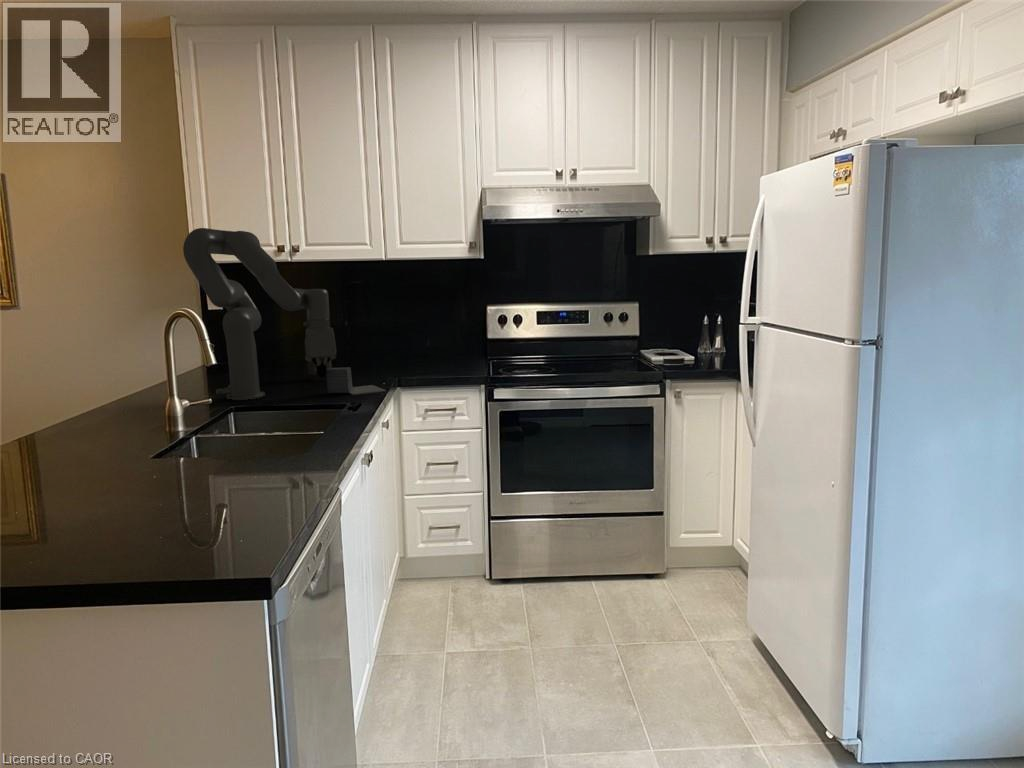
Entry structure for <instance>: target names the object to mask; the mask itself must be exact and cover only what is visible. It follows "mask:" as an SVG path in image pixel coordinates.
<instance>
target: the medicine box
mask: <svg viewBox="0 0 1024 768" xmlns="http://www.w3.org/2000/svg"><path fill="white" fill-rule="evenodd" d="M351 369H352V367H332V368H329V369H327V370H326V377H327V381H326V385H327V386H326V387H327V394H349V392H351V391H352V390H353V387H354V386H353V379H352V370H351Z"/></svg>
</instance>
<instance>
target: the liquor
mask: <svg viewBox="0 0 1024 768" xmlns="http://www.w3.org/2000/svg"><path fill="white" fill-rule="evenodd" d="M310 358H311V357H310ZM319 359H320V364H321V363H322V357H319ZM329 368H333V365H332V360H330V361H329V362H328V363H327V365H326V370H327V369H329ZM306 370H307V373H306V374H307V378H308V381H309V382H312V383H313V382H314V383H316V382H327V377H326V374H325V377H319V376H318V375H317V367H316V365H315V364H314V363H313V362H312V361H306Z"/></svg>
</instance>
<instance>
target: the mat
mask: <svg viewBox="0 0 1024 768" xmlns="http://www.w3.org/2000/svg"><path fill="white" fill-rule="evenodd" d="M352 387H353V390H352V391H351V392H349V393H348V394H349V395H351V396H360V395H369V394H370V395H371V394H377V393H378V394H379V393H385V392H386V393H387V390H386V389H384V388H381V387H380V386H379V387H378V386H376V385H374V384H369V385H361V386H360V385H359V386H352Z"/></svg>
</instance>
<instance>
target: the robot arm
mask: <svg viewBox="0 0 1024 768" xmlns="http://www.w3.org/2000/svg"><path fill="white" fill-rule="evenodd" d="M182 248H183V249H182V250H183V251H182V252H183V256H184V259H185V262H186V263H187V265H188V268H189V269H190V270H191V272H192V273H193V275H194V277H195V278H196V280H197V282H198V283H199V285H200V286H201V288H202V289H203V291H204V293H205V294H206V296H207V298H208V299H209V301H210V302H211V304H212V305H214V306H215V307H217V308H222V309H223V308H225V309H226V310H227V312H225V314H224V316H223V319H222V329H223V333H224V339H225V342H226V343H225V344H226V354H227V362H228V363H227V364H228V374H229V375H228V376H229V384H228V386H225V387H224V388H217V389H216V391H215V392H216V395H226V399H227V400H229V399H232V400H231V401H249V400H248V399H250V400H257V399H261V398H263V396H264V397H265V396H266V393H265V392H264V391H261V389H260V379H259V366H258V365H259V364H258V351H257V344H256V340H255V334H254V332H255V331H257V330H258V329H260V327H261V325H262V316H261V313H260V311H259V309H258V308H257V306H256V304H255V303H254V301H253V299H252V298H251V297H250V295H249V294H248V292H247V290H246V289H245V288H244V286H243V285H242V284H241V283H240V282H238V281H236V280H233V279H228V277H227V276H226V275H225V273H224V272H223V270H222V268H221V267H220V265H219V264H218V263H217V261H216V260H215V259H214V258H213V257H212V255H223V256H225V255H226V256H234V257H235V258H236V259H237V260H238V261H239V262H240V263H241V264H242V265H243V266H244V267H245V268H246V269H247V270H248V271H249V272H250V273H251V274H252V275H253V276H254V277H255V278H256V279H257V281H258V283H259V284H260V285H261V287H262V289H263V290H264V292H265V293H267V294H268V295H269V297H270V298H271V299H272V300H273V301H274V302H275V303H276V304H277V305H278V306H279V307H281V308H282V309H283V310H285V311H288V312H294V311H295V312H297V311H301V310H306V317H307V318H306V321H303V323H302V325H303V327H305V326H306V327H307V328H305V334H304V354H305V356H304V359H305V361H306V362H307V361H312V362H313V363H314V364H315V365H316V367H317V375H318V376H319V377H325V374H326V365H327V363H328V362H329V361H330V360H331V361H333V360H335V359H337V345H336V344H337V343H336V337H335V332H334V328H333V327H331V319H330V304H329V303H330V302H329V292H328V290H327V289H325V288H310V289H307V288H306V289H305V288H297V287H296V288H295V287H294V288H293V287H292V286H291V285H290V284H289V283H288V282H287V281H286V280H285V279H284V278H283V276H282V275H281V274H280V272H279V270H278V268H277V267H278V266H277V263H276V261H275V260H274V258H272V257H271V256H270V255H269V254H268V252H267V251H265V250H264V248H262V246H261V243H260V239H259V238H258V237H257V236H256V235H255V234H254V233H253V232H250V231H244V230H237V231H232V230H223V229H222V230H221V229H215V228H206V227H198V228H195V229H193V230H191V231H190V232H189V233H188V234H187V236H186V238H185V239H184V242H183V246H182ZM310 357H311V358H310ZM319 357H322V363H321V364H320V359H319ZM260 397H261V398H260ZM256 398H257V399H256Z"/></svg>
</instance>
